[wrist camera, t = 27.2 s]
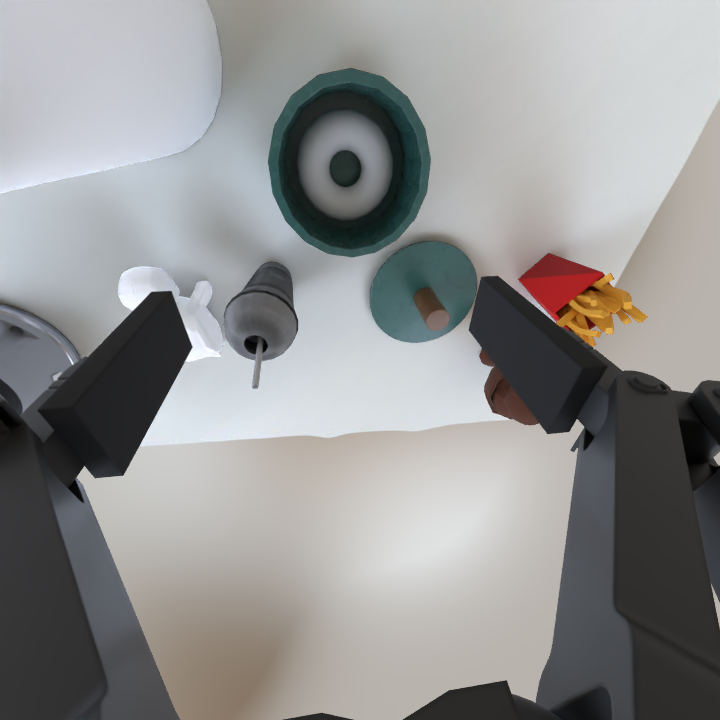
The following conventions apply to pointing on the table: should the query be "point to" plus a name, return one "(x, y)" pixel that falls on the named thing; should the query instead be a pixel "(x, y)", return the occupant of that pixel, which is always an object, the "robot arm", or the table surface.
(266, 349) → the beverage cup
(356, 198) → the donut
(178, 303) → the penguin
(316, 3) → the table surface
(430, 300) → the tin lid
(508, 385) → the ice cream bowl
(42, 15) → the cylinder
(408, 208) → the tin
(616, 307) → the french fries
